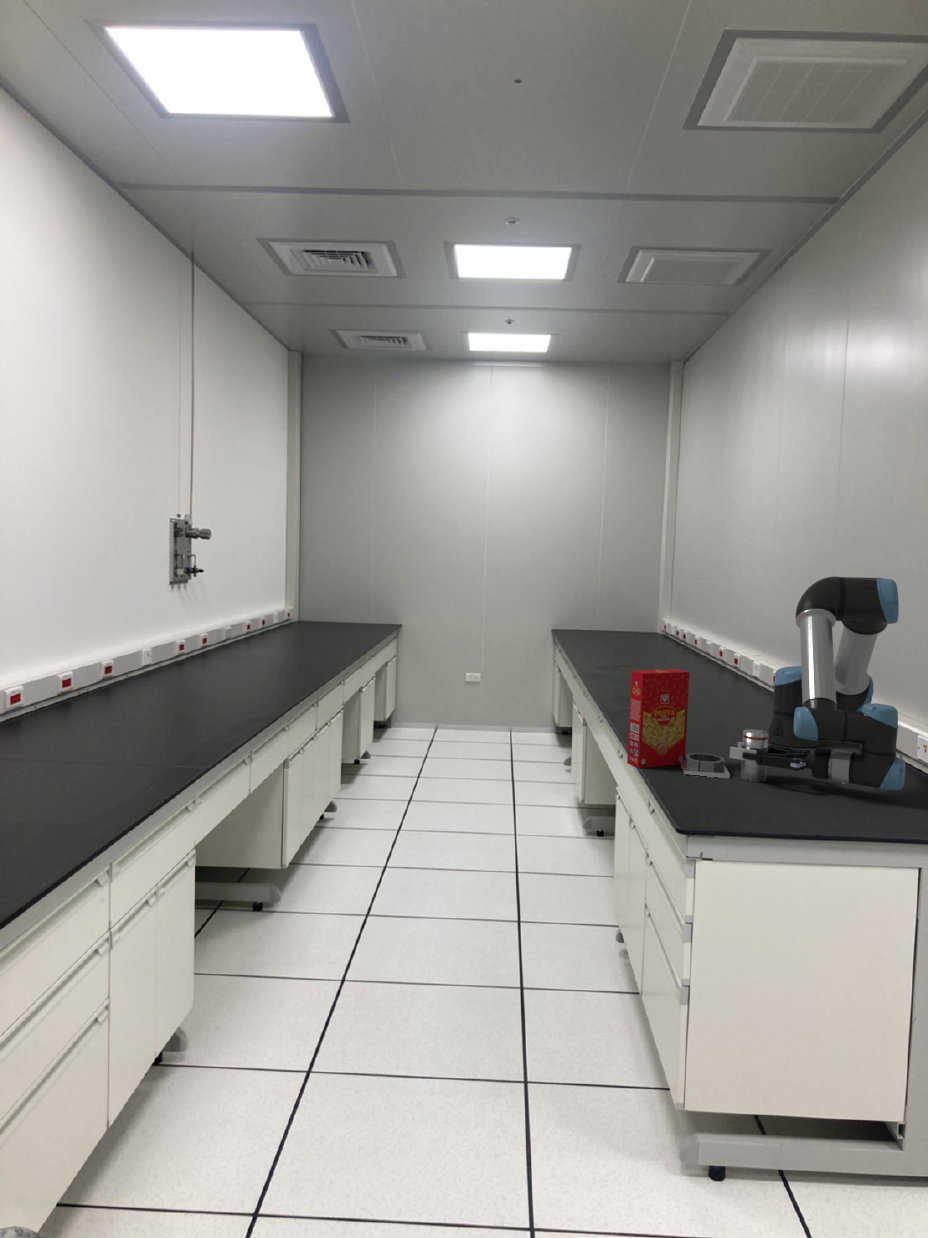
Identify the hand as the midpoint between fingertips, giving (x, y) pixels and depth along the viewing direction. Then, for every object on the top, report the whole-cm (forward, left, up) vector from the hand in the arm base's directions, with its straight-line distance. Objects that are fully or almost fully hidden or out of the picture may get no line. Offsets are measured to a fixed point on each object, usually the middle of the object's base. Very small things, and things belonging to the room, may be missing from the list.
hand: (734, 749), depth 208 cm
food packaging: (+19, -7, -7) cm, 21 cm away
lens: (-5, +2, -7) cm, 8 cm away
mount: (+7, -2, -7) cm, 10 cm away
